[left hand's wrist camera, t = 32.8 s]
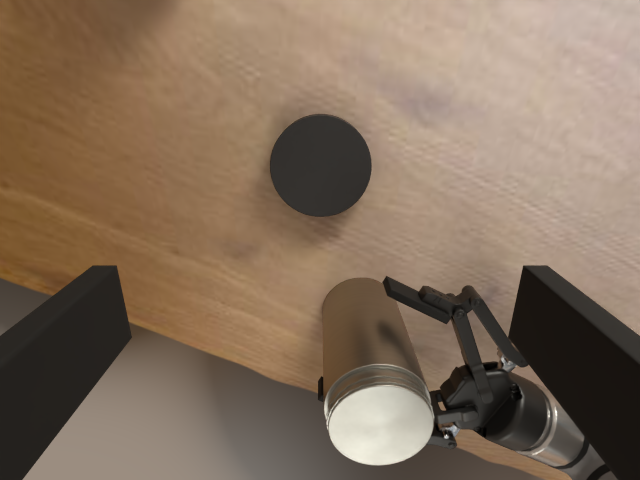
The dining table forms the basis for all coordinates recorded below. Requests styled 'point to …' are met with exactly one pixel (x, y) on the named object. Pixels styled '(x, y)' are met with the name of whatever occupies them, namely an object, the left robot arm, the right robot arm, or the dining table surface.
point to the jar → (372, 377)
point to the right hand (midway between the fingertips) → (350, 339)
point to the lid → (320, 165)
